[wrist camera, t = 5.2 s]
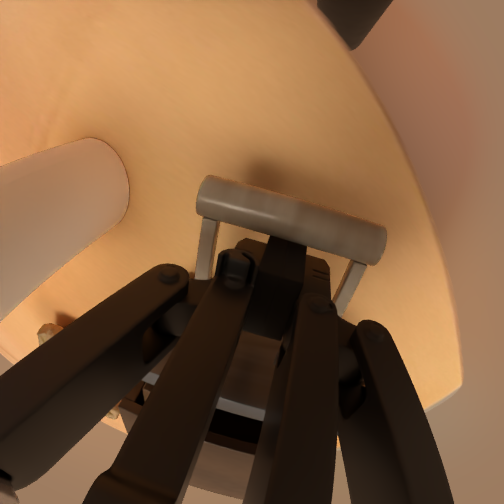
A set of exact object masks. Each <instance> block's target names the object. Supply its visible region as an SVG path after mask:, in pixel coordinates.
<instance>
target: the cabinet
mask: <svg viewBox="0 0 504 504" xmlns="http://www.w3.org/2000/svg"><path fill="white" fill-rule="evenodd" d="M145 383H146V382H145V381H143V380H141V381H140V382H139V383H138V384H137V385H136V386H135V387H134V388H133V389H132V390H131V391H130V392H129V393H128V394H127V395H126V396H125V397H124V398H123V399H122V400H121V402H120V403H119V405H118V408H119V411H120V414H121V417H122V420H123V422H124V425H125V428H126V430H127V433H128V434H129V432H130V430H131V428H132V426H133V424H134V422H135V420H136V418H137V416H138V415H139V413H140V411H141V409H142V407H143V405H144V403H145V401H144V395H143V387H144V385H145ZM256 449H257V444H252V443H248V442H245V441H241V440H237V439H233V438H230V437H226V436H223V435H220V434H216V433H213V432H210V431H208V432H207V435H206V438H205V440H204V443H203V446H202V449H201V452H200V454H199V457H198V460H197V463H196V465H195V468H194V471H193V474H192V477H191V479H190V482H189V485H191V486H194V487H197V488H201V489H204V490H207V491H211V492H214V493H218V494H222V495H226V496H230V497H234V498H238V499H243V500H244V496H245V492H246V489H247V485H248V481H249V477H250V473H251V469H252V465H253V461H254V457H255V453H256Z"/></svg>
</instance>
